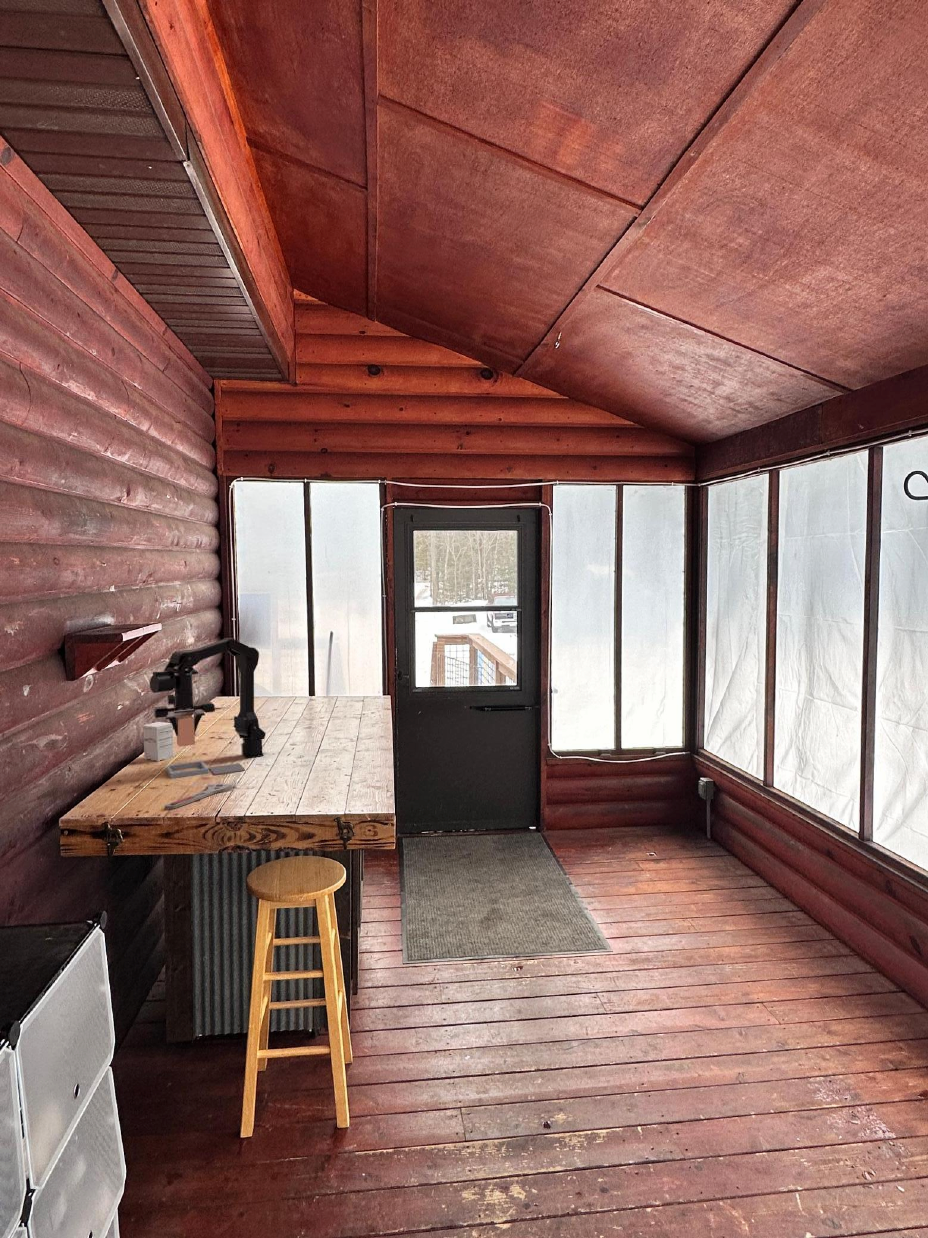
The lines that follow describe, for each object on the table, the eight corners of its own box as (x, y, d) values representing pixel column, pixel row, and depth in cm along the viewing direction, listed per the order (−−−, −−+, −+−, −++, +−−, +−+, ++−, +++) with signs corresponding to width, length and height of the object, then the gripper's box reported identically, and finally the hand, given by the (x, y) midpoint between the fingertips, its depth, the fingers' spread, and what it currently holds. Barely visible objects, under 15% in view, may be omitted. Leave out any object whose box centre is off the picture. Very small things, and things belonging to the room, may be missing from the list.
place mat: (239, 764, 254) (239, 763, 254) (245, 770, 245) (245, 769, 245) (209, 768, 249) (209, 767, 249) (214, 775, 240) (214, 774, 240)
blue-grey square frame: (202, 765, 254) (202, 761, 254) (208, 773, 244) (208, 768, 243) (166, 770, 248) (166, 766, 248) (171, 778, 238) (171, 773, 238)
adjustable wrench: (151, 808, 209) (151, 801, 209) (225, 784, 231) (224, 777, 231) (170, 813, 205) (169, 806, 205) (243, 788, 227) (242, 781, 227)
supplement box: (143, 759, 263) (142, 725, 262) (160, 755, 270) (159, 721, 269) (157, 762, 260) (156, 726, 259) (174, 757, 266) (173, 722, 266)
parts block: (192, 741, 249) (191, 715, 248) (194, 744, 244) (193, 717, 244) (176, 743, 246) (175, 717, 246) (179, 746, 242) (177, 719, 241)
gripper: (208, 683, 256) (210, 727, 257) (150, 688, 247) (152, 734, 248) (214, 687, 246) (216, 733, 247) (154, 692, 237) (156, 740, 238)
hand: (185, 735), depth 245 cm, fingers closed on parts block, 5 cm apart
